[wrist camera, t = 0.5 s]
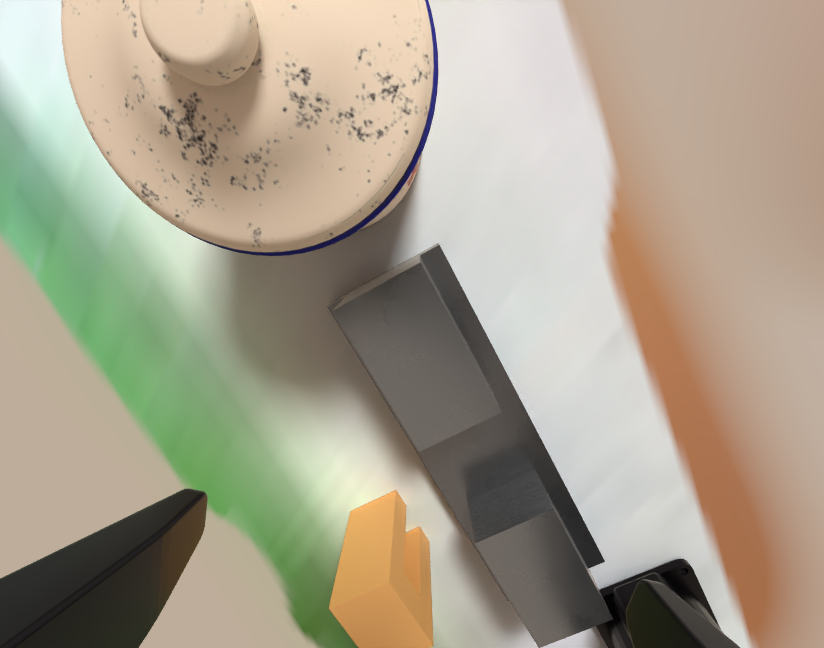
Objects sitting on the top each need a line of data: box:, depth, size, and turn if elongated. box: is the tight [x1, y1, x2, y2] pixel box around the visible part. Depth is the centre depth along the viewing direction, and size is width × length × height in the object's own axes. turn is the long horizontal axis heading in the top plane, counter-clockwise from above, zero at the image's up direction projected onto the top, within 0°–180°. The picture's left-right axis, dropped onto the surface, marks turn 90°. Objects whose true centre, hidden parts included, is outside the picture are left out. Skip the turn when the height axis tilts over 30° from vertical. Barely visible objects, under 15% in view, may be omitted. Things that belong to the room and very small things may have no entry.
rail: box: [327, 244, 613, 648], centre depth 20 cm, size 20×6×4 cm, turn 29°
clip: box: [329, 490, 433, 648], centre depth 21 cm, size 4×3×6 cm
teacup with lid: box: [61, 0, 438, 256], centre depth 12 cm, size 12×9×12 cm
